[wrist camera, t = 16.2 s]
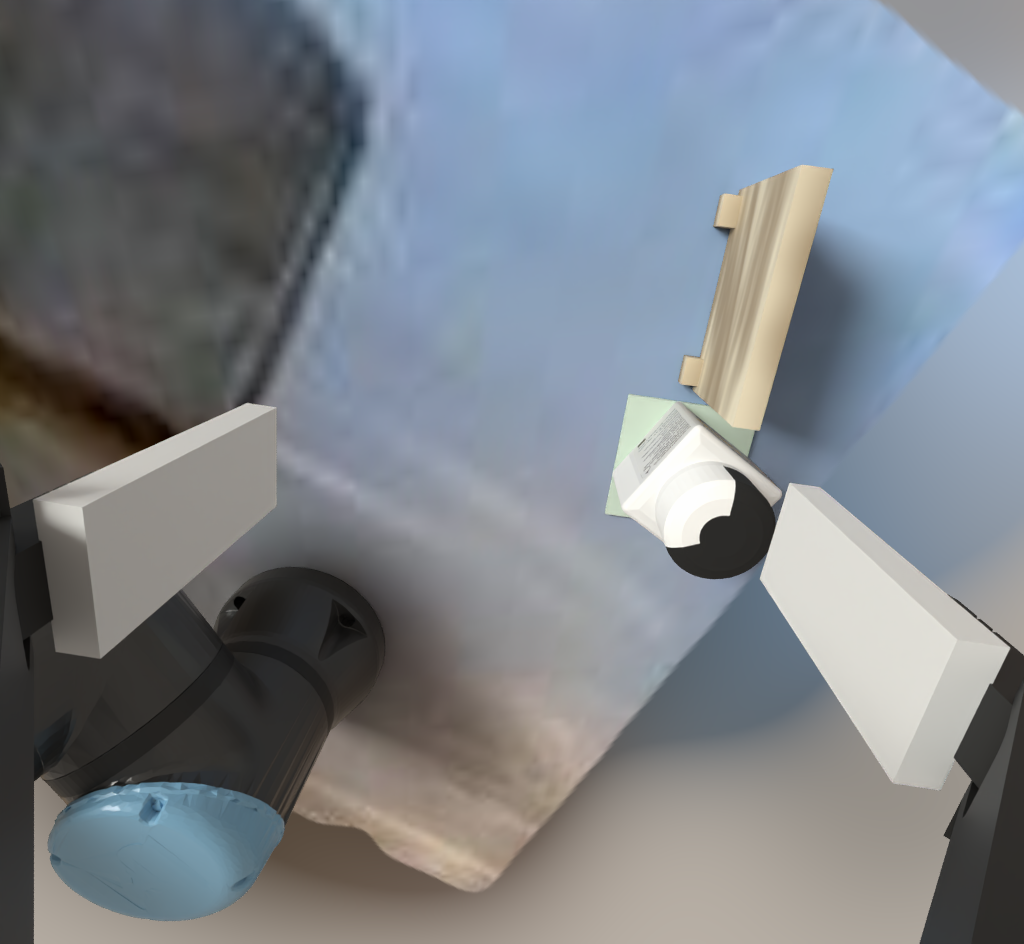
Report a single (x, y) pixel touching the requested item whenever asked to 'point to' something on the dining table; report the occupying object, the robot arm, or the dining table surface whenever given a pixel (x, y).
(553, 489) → the dining table surface
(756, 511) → the container
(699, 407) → the mat
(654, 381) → the dining table surface
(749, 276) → the screen
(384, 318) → the dining table surface
